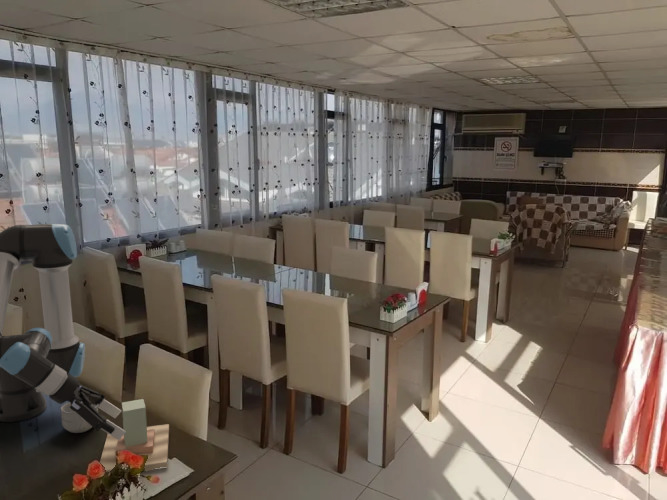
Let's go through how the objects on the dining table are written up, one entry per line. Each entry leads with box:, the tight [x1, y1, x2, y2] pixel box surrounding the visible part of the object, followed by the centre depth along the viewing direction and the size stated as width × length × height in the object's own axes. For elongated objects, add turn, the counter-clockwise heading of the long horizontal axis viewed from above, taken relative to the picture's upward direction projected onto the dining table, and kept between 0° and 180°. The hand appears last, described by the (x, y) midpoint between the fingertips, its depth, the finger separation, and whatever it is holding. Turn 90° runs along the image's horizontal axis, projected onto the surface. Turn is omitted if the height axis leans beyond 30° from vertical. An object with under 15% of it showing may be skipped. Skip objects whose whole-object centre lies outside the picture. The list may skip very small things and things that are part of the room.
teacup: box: [60, 401, 99, 434], centre depth 164 cm, size 14×11×8 cm
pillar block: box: [121, 398, 148, 447], centre depth 151 cm, size 6×6×11 cm
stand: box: [99, 423, 170, 472], centre depth 152 cm, size 22×18×4 cm
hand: (120, 424), depth 149 cm, fingers open, 13 cm apart
